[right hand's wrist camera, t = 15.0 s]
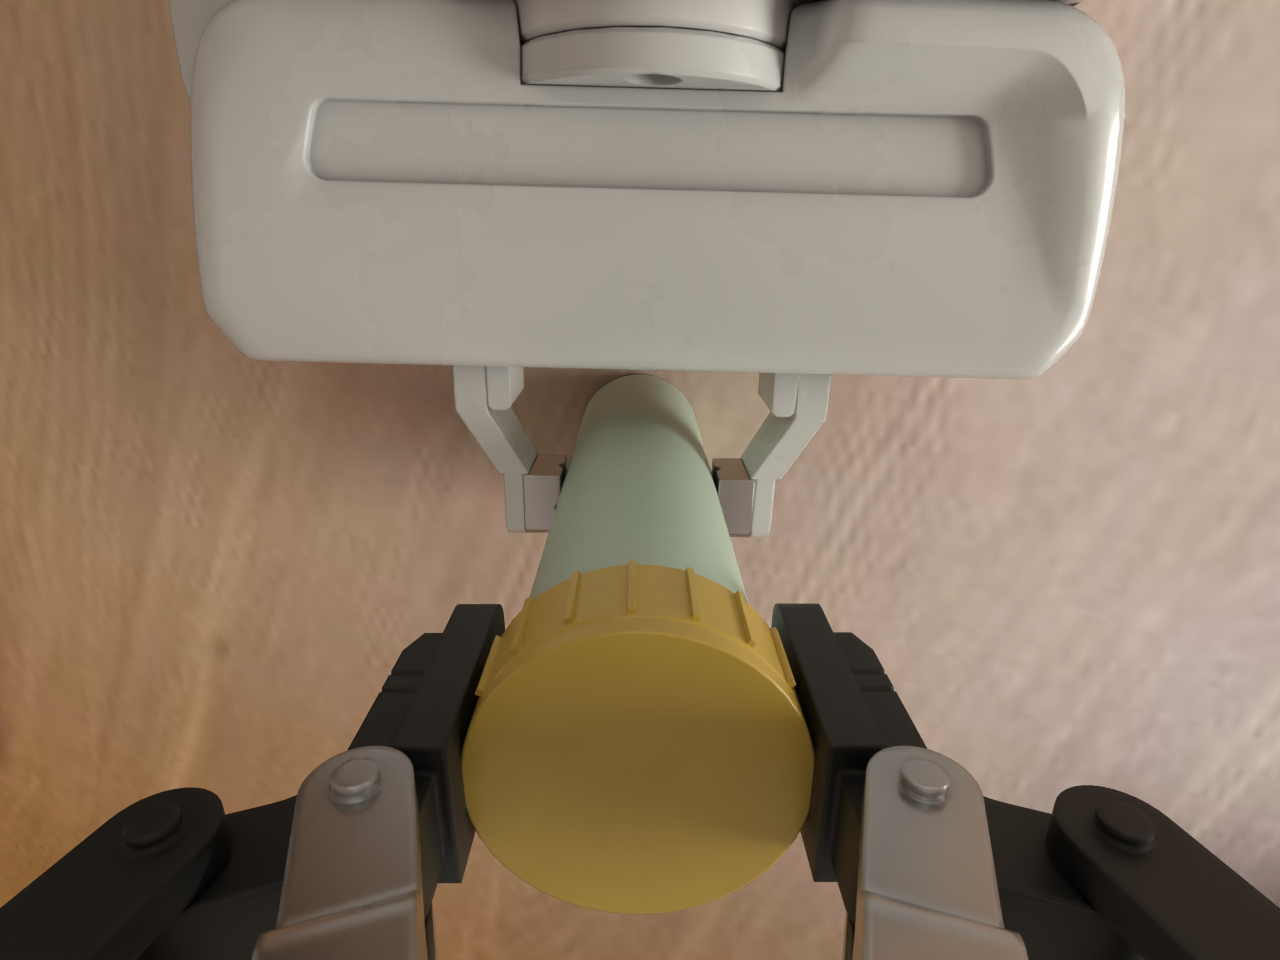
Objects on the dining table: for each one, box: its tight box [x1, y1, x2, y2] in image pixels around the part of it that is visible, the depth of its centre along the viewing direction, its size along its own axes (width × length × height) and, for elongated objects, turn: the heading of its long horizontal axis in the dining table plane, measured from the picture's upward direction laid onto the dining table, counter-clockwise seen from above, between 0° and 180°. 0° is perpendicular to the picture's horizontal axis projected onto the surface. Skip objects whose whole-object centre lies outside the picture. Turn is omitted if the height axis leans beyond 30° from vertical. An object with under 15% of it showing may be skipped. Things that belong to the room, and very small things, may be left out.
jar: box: [530, 374, 749, 604], centre depth 17 cm, size 4×4×16 cm
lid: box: [461, 560, 814, 914], centre depth 10 cm, size 5×5×2 cm
